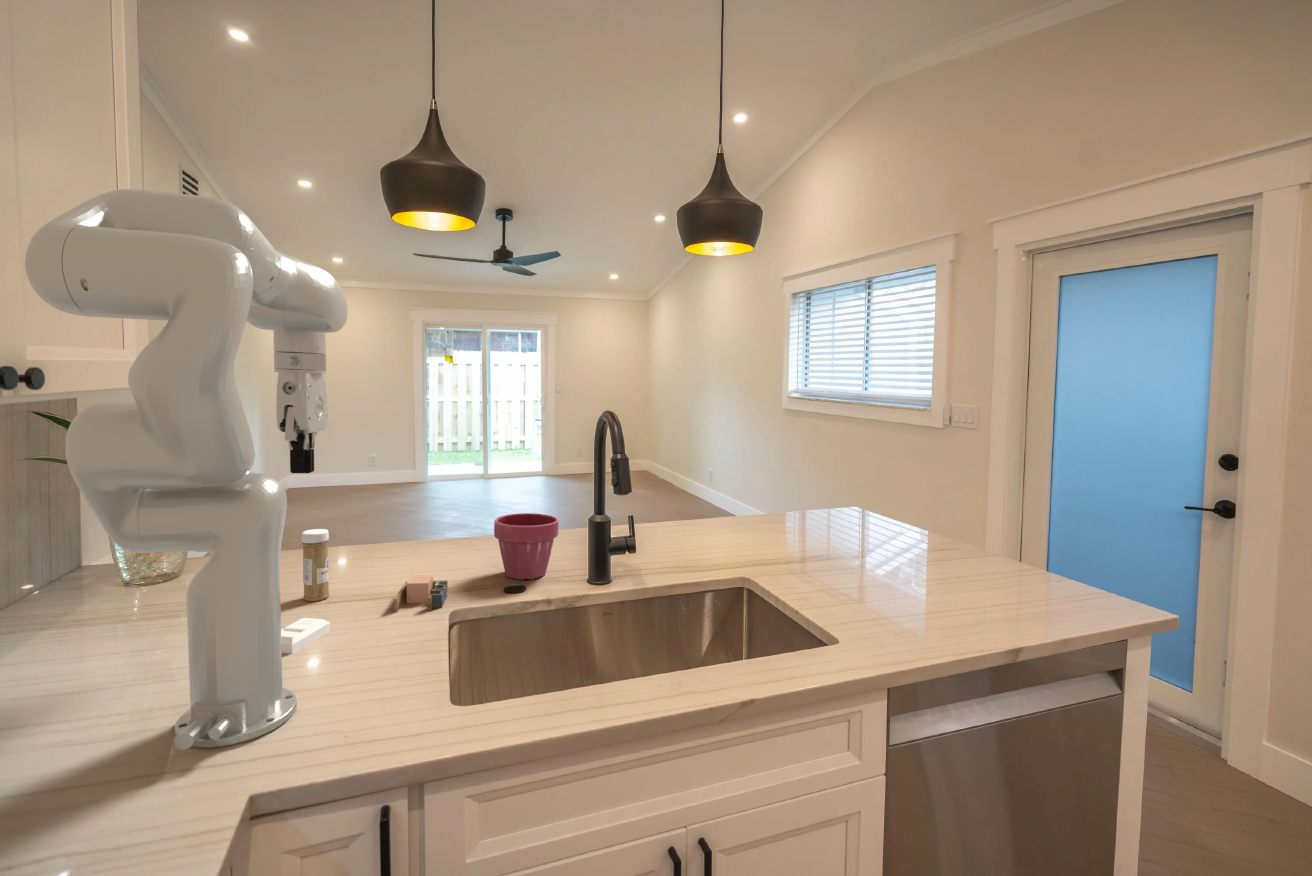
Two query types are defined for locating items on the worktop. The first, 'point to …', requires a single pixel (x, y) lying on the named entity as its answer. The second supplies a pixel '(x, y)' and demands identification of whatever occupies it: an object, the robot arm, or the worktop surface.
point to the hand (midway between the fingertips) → (302, 472)
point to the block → (419, 588)
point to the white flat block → (302, 633)
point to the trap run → (433, 599)
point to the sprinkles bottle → (315, 564)
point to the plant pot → (525, 543)
